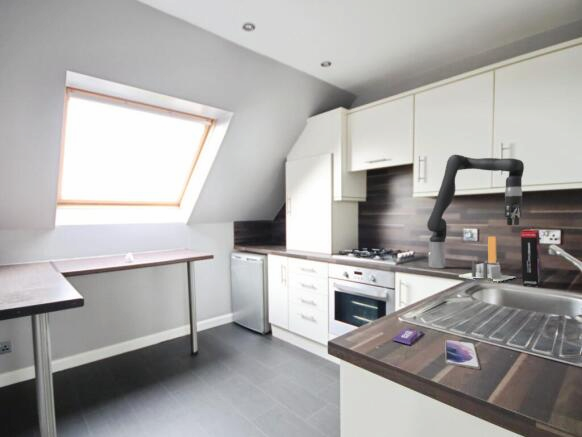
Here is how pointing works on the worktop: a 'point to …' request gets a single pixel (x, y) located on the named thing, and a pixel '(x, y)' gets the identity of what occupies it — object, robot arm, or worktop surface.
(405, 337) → the snack package
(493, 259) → the retention strap
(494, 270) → the heatsink board
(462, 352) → the smartphone
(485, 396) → the worktop surface
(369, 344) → the worktop surface
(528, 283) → the graphics card box
